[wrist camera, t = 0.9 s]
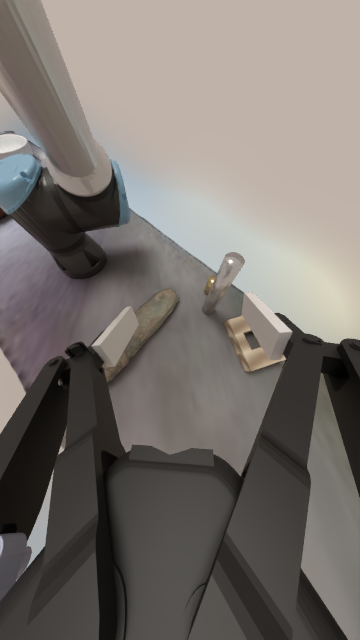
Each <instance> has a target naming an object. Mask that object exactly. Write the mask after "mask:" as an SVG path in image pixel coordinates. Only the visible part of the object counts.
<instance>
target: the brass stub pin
mask: <svg viewBox="0 0 360 640" xmlns="http://www.w3.org/2000/svg"><path fill="white" fill-rule="evenodd" d="M215 278H216V276H214V275H213V276H210V277H209V279H208V282H207V285H206V287H205V290H204V293H205V294H206V295H207V296H208V294H209V291H210V289H211V287H212V284H213V282H214V280H215Z"/></svg>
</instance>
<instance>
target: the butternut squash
mask: <svg viewBox="0 0 360 640" xmlns="http://www.w3.org/2000/svg"><path fill="white" fill-rule="evenodd" d="M5 214H6V213H5V212H4V211H3V209H2V208H1V207H0V218H3V217H4V215H5Z"/></svg>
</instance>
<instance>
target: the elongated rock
mask: <svg viewBox="0 0 360 640" xmlns="http://www.w3.org/2000/svg"><path fill="white" fill-rule="evenodd" d="M178 301H179V297H177V294H176V292H175V290H173V289H165V290H163V291H161V292H158V293H157V294H155V295H154V296H153V297H152V298H151V299H150V300H149V301H148V302H147V303H145V304H144V305H142V306H141V307H140V308H139V309H138V310H137V311H136V312H135V316H136V318H137V320H138V323H139V325H138V327H137V329H136V330H135V332H134V334H133V336H132V337H131V339H130V341H129V343H128V344H127V346H126V348H125V350H124V351H123V353H122V355H121V357H120V358H119V360H118V362H117V364H116V365H115V367H107V366H106V364H105V363H104V364H103V365H102V367H103V368H104V371H105V376H106V380H107V383H108V382H109V381H111V380H112V379H113V378H114V377H115V376H116V375H117V374H118V372H121V370H122V369H123V368H124V367H126V365H127V364H128V362H130V359H131V358H132V357H134V356H135V355H136V354H137V352H138V350H139V349H140V348H141V347H142V346H143V345H144V344H145V342H146V341H147V340H148V339H149V337H151V336H152V335H153V334H154V333H155V331H156V330H157V329H159V328H160V327H161V325H162V324H163V322H164V321H165V320H166V318H167V317H168V316H169V315H170V314H171V313H172V311H173V309H174V308H175V307H176V304H177V302H178Z"/></svg>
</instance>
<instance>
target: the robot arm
mask: <svg viewBox="0 0 360 640" xmlns="http://www.w3.org/2000/svg"><path fill="white" fill-rule="evenodd" d="M0 92H1V93H2V94H3V96H4V97H5V99H6V100H7V102H8V103H9V104H10V106H11V107H12V108H13V110H14V111H15V113H16V114H17V115H18V117H19V118H20V120H21V121H22V122H23V124H24V125H25V127H26V128H27V129H28V131H29V132H30V133H31V135H32V136H33V138H34V139H35V140H36V142H37V143H38V145H39V146H40V147H41V149H42V150H43V152H44V153H45V154H46V165H47V167H46V168H43V167H41V164H40V163H39V162H38V161H37V160H36V159H35V158H34V157H33V156H31V155H29V154H16V155H12V156H9V157H6V158H4V159H2V160H0V207H1V208H2V209H3V211H4V212H5V213H6V214H8V215H9V216H10V217H11V218H13V219H14V220H15V221H16V222H17V223H18V224H19V225H20V226H21V227H23V228H24V229H25V230H26V231H27V232H28V233H29V234H30V235H31V236H33V237H34V238H35V239H36V240H37V241H38V242H39V243H40V244H41V245H43V246H44V247H45V248H46V249H47V250H48V251H49V252H50V254H51V255H52V257H53V259H54V260H55V262H56V264H57V265H58V267H59V268H60V269H61V270H62V271H63V272H64V273H65V274H67V275H68V276H70V277H73V278H86V277H90V276H92V275H94V274H96V273H98V272H99V271H100V270H101V269H102V268H103V267H104V265H105V263H106V254H105V252H104V251H103V249H102V248H101V246H100V245H99V244H98V243H96V242H95V241H94V240H93V239H92V238H91V237H90V236H88V235H87V234H86V233H85V232H86V231H92V230H98V229H105V228H111V227H119V226H120V225H124V224H127V223H128V222H129V220H130V212H129V206H128V201H127V197H126V192H125V187H124V183H123V179H122V175H121V172H120V169H119V166H118V164H117V162H116V161H114V160H111V159H109V157H108V155H107V153H106V151H105V150H104V148H103V147H102V146H101V145H100V144H99V143H98V142H97V141H96V140H94V138H93V136H92V133H91V131H90V128H89V125H88V123H87V120H86V117H85V115H84V112H83V110H82V107H81V104H80V102H79V99H78V97H77V94H76V91H75V89H74V86H73V84H72V81H71V78H70V76H69V73H68V70H67V68H66V65H65V62H64V60H63V57H62V55H61V53H60V49H59V47H58V44H57V42H56V39H55V36H54V34H53V31H52V29H51V27H50V24H49V21H48V18H47V15H46V13H45V10H44V8H43V5H42V3H41V0H0ZM242 316H243V317H244V319H245V321H246V322H247V324H248V326H249V327H250V329H251V330H252V332H253V334H254V335H255V337H256V339H257V340H258V342H259V343H260V345H261V347H262V348H263V350H264V352H265V353H266V355H267V356H268V358H269V360H281V358H282V356H283V355H284V356H285V357H286V361H285V363H284V365H283V367H282V368H283V369H282V371H281V374H280V376H279V379H278V382H277V384H276V387H275V390H274V392H273V395H272V397H271V400H270V403H269V405H268V408H267V410H266V413H265V416H264V418H263V421H262V424H261V426H260V429H259V431H258V434H257V437H256V439H255V442H254V444H253V447H252V450H251V452H250V454H249V457H248V459H247V462H246V464H245V467H244V469H243V472H242V474H241V477H240V476H239V474H238V473H237V472H236V471H235V470H234V469H233V468H232V467H231V465H229V464H228V463H227V462H226V461H225V460H223V459H222V458H220V457H218V456H216V455H214V454H213V450H210V449H194V448H191V449H188V450H185V451H182V452H179V453H175V454H172V455H169V454H166V453H164V452H162V451H160V450H158V449H156V448H154V447H152V446H144V445H132V448H131V451H129V452H127V453H126V452H125V449H124V448H123V446H122V444H121V442H120V438H119V433H118V429H117V425H116V420H115V416H114V411H113V407H112V402H111V398H110V393H109V389H108V385H107V380H106V376H105V371H104V368H103V367H102V365H103V364H104V363H105V364H106V366H107V367H115V365H116V364H117V362H118V360H119V358H120V357H121V355H122V353H123V351H124V350H125V348H126V346H127V344H128V343H129V341H130V339H131V337H132V336H133V334H134V332H135V330H136V329H137V327H138V325H139V323H138V320H137V318H136V316H135V313H134V311H133V308H132V306H129V307H125V308H124V309H123V311H122V312H121V313H120V314H119V315H118V316H117V317H116V319H115V320H114V321H113V322H112V323H111V324H110V325H109V326H108V328H107V329H106V330H104V331H103V332H102V333H101V334H100V335H99V336H98V337H97V338H96V339H95V340H94V341H93V343H92V344H91V345H90V346H89V347H88V348H87V347H86V346H85V344H84V343H83V342H77V343H74V344H72V345H71V346H69V347H68V348H67V349H66V350H65V353H66V354H67V355H68V356H69V357H70V358H69V359H66V360H65V359H64V358H63V357H62V356H58V357H55V358H53V359H52V360H50V361H49V362H47V363H46V364H45V366H44V367H43V368H42V370H41V372H40V373H39V375H38V376H37V378H36V379H35V381H34V383H33V384H32V386H31V387H30V389H29V390H28V392H27V393H26V395H25V397H24V398H23V400H22V401H21V403H20V404H19V406H18V407H17V409H16V411H15V412H14V414H13V415H12V417H11V418H10V420H9V421H8V423H7V425H6V426H5V428H4V429H3V431H2V433H1V434H0V640H348V639H347V637H346V636H345V634H344V633H343V631H342V630H341V628H340V627H339V625H338V624H337V622H336V621H335V619H334V618H333V616H332V615H331V613H330V612H329V610H328V609H327V607H326V606H325V604H324V603H323V601H322V600H321V598H320V596H319V595H318V593H317V592H316V590H315V589H314V587H313V586H312V584H311V583H310V581H309V580H308V578H307V577H306V575H305V574H304V572H303V571H302V569H301V560H302V552H303V544H304V536H305V528H306V520H307V512H308V504H309V496H310V486H311V479H310V474H309V472H308V470H307V461H308V454H309V447H310V441H311V434H312V427H313V421H314V414H315V407H316V401H317V394H318V387H319V381H320V374H321V373H323V375H324V379H325V382H326V386H327V389H328V392H329V396H330V399H331V402H332V406H333V409H334V412H335V416H336V419H337V423H338V426H339V429H340V433H341V436H342V439H343V443H344V446H345V450H346V453H347V456H348V460H349V463H350V466H351V470H352V473H353V476H354V480H355V483H356V487H357V490H358V493H359V497H360V340H356V339H344V340H342V341H341V343H340V344H334V343H327V342H324V341H323V340H322V339H320V338H318V337H317V336H314V335H311V334H305V333H303V332H302V331H301V330H300V329H299V328H298V327H296V325H294V324H293V323H292V322H291V321H290V320H289V319H288V318H287V317H286V316H284V315H282V314H280V313H273V312H272V311H271V310H270V309H269V308H268V307H267V306H266V305H265V304H264V303H263V302H262V301H261V300H260V299H259V298H258V297H257V296H255V294H254V293H252V292H248V293H244V300H243V308H242ZM58 381H59V382H60V383H61V384H60V386H59V385H58ZM66 426H67V432H66V446H65V450H64V451H63V452H62V453H60V454H59V455H58V452H59V449H60V446H61V442H62V439H63V436H64V432H65V429H66ZM57 456H58V457H57ZM53 469H54V473H53V482H52V491H51V501H50V510H49V519H48V527H47V535H46V544H45V547H44V548H43V549H42V550H41V552H40V553H39V554H38V555H37V557H36V558H35V559H34V561H33V562H32V563H31V564H30V565H29V566H28V568H27V569H26V567H27V565H28V563H29V560H30V557H31V553H32V551H31V547H29V546H28V547H26V545H27V540H28V538H29V536H30V534H31V531H32V529H33V527H34V524H35V522H36V519H37V517H38V514H39V512H40V510H41V507H42V504H43V501H44V497H45V495H46V492H47V489H48V485H49V482H50V479H51V475H52V472H53ZM25 569H26V570H25ZM24 570H25V571H24ZM23 572H24V573H23ZM22 573H23V574H22ZM19 577H20V578H19ZM18 578H19V579H18ZM17 579H18V580H17ZM16 580H17V581H16Z"/></svg>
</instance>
